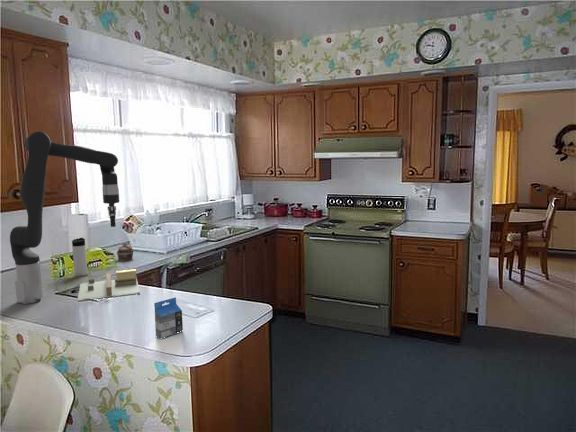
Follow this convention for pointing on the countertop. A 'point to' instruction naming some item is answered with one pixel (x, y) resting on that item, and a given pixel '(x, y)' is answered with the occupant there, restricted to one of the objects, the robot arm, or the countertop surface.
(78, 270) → the travel mug
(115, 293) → the door board
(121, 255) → the cupcake
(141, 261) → the countertop surface
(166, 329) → the label tape cartridge
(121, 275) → the bar
